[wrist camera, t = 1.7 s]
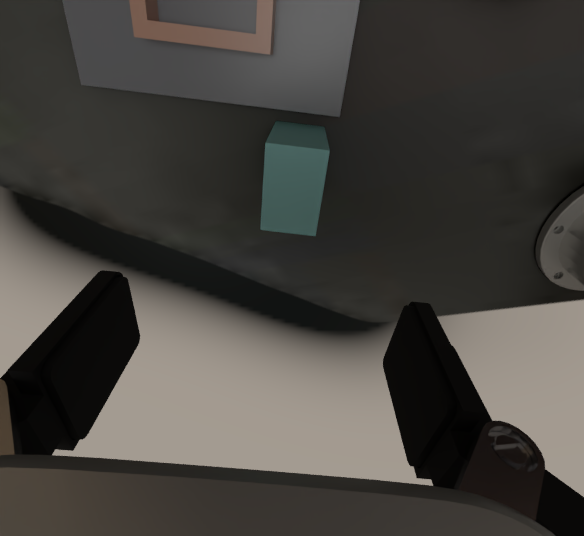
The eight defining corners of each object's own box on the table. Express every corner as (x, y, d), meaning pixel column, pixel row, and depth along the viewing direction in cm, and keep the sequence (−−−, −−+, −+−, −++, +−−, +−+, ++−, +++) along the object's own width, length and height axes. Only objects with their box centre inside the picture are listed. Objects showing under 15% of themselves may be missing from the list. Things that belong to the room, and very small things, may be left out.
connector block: (324, 126, 27) (329, 150, 20) (313, 195, 30) (315, 236, 23) (276, 120, 26) (265, 142, 20) (270, 190, 30) (260, 229, 23)
